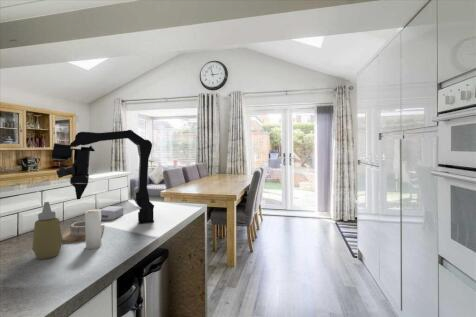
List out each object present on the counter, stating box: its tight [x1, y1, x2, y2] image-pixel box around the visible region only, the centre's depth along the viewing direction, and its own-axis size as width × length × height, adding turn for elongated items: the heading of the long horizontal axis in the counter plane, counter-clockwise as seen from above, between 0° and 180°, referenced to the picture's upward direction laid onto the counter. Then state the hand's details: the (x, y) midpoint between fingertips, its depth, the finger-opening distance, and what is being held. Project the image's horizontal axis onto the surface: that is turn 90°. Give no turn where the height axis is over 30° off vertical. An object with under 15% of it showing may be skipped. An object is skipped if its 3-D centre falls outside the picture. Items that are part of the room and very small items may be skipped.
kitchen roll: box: [84, 209, 102, 250], centre depth 92 cm, size 5×5×13 cm
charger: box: [99, 205, 125, 221], centre depth 133 cm, size 5×9×15 cm
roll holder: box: [61, 220, 105, 244], centre depth 104 cm, size 14×14×5 cm
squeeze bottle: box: [32, 201, 63, 260], centre depth 84 cm, size 8×8×18 cm
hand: (78, 197), depth 109 cm, fingers open, 9 cm apart
